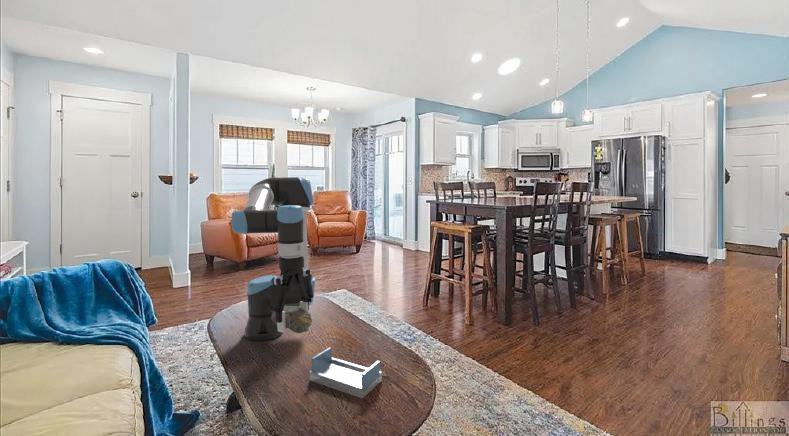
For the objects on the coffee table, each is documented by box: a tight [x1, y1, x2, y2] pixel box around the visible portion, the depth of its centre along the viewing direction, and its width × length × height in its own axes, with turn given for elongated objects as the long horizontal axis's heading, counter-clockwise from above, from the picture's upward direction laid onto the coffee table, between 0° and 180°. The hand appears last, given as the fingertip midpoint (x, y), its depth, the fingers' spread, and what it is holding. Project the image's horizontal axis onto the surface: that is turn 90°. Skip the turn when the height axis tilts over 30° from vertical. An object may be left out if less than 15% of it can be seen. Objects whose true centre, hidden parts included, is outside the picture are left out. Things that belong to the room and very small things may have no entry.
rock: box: [271, 306, 313, 334], centre depth 121 cm, size 17×7×10 cm
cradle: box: [309, 346, 383, 399], centre depth 122 cm, size 20×11×7 cm, turn 61°
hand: (293, 326), depth 120 cm, fingers closed on rock, 9 cm apart
